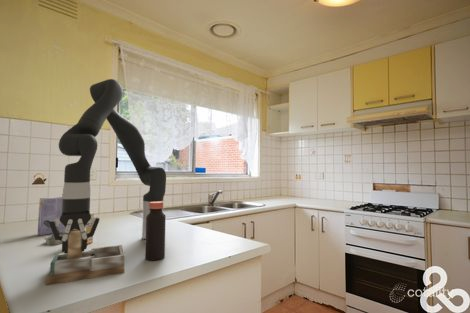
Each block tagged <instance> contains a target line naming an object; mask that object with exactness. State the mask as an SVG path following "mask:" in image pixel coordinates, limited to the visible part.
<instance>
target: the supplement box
mask: <svg viewBox="0 0 470 313" xmlns="http://www.w3.org/2000/svg"><path fill="white" fill-rule="evenodd" d="M90 214H91V216H92V217H95V215H94V214H95V213H94V212H90ZM91 222H92V221H91V220H89V221H88V223H87V224H86V225H85V228H86V232H87V233H89V232H90V231H91V228H92V226H93V224H92V223H91ZM93 239H94V235H93V236H92V237H89V238H88V239H87V245H89V244H92V243H93V242H94V240H93Z"/></svg>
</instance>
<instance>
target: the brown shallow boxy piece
mask: <svg viewBox="0 0 470 313" xmlns="http://www.w3.org/2000/svg"><path fill="white" fill-rule="evenodd" d="M124 273H125V253H124V248H123V244H118V245H108V246H100V247H93V248H91V249H87V250H86V249H84V251H83V252H82V258H74V259H67V253H66V254H64V252H59V253H55V255H54V256H53V258H52V260H51V262H50V266H49V273H48V275H47V277H46V278H45V286H49V285H55V284H61V283H67V282H74V281H78V280H79V281H80V280H86V279H93V278H100V277H107V276H112V275H119V274H124Z"/></svg>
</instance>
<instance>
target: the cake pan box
mask: <svg viewBox="0 0 470 313" xmlns="http://www.w3.org/2000/svg"><path fill="white" fill-rule="evenodd" d="M62 198H63V197H62V196H59V197H42V198H39V207H38V217H37V218H38V220H37V222H38V223H37V235H39V236H45V235H52V234H53V232H52V229H51V227H50V224H49V223H50V222H51V221H52V220H57V219H59V218H60V217H61V215H62ZM65 229H66V227H65V226H64V225H63V224H62V223H61V222H59V226H58V230H60V232H65Z"/></svg>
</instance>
